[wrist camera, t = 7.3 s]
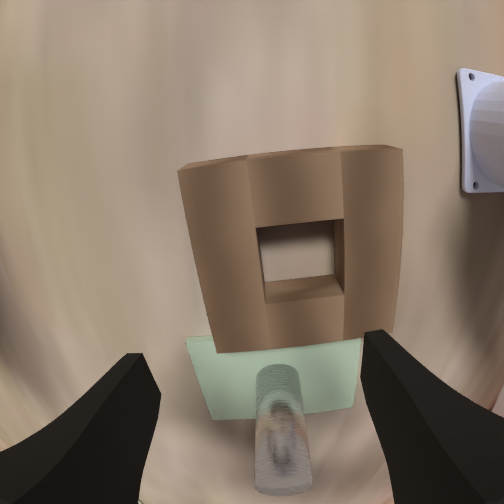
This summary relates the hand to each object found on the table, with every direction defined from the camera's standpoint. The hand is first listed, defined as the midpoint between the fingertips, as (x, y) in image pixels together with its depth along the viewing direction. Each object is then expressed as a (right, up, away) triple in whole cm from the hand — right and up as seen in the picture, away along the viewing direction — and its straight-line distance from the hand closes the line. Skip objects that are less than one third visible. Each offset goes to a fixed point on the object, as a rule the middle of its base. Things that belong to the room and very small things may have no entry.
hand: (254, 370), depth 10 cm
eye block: (+3, +4, +9) cm, 10 cm away
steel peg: (+2, -6, +12) cm, 14 cm away
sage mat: (+2, -6, +13) cm, 14 cm away
